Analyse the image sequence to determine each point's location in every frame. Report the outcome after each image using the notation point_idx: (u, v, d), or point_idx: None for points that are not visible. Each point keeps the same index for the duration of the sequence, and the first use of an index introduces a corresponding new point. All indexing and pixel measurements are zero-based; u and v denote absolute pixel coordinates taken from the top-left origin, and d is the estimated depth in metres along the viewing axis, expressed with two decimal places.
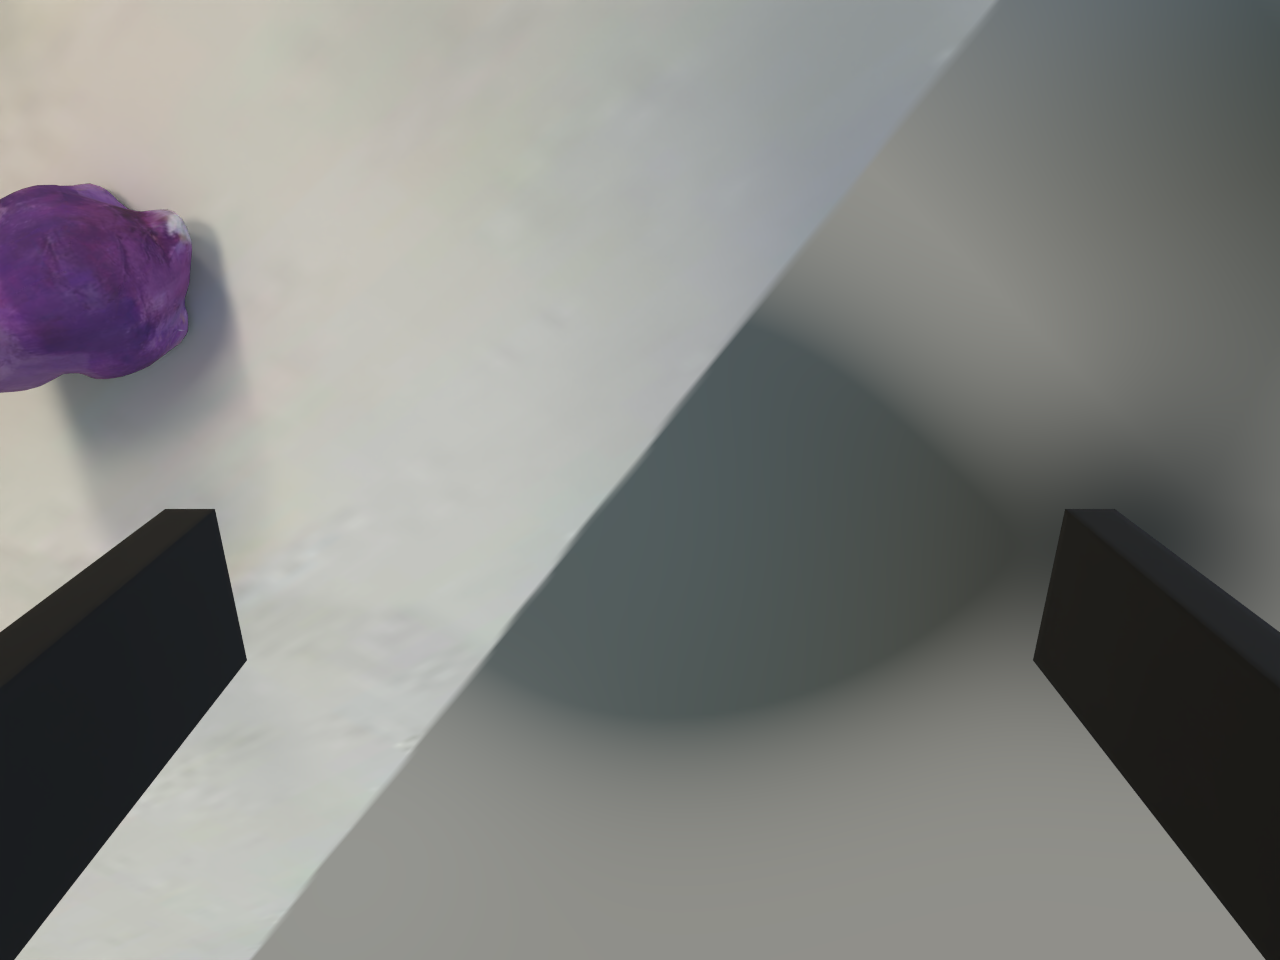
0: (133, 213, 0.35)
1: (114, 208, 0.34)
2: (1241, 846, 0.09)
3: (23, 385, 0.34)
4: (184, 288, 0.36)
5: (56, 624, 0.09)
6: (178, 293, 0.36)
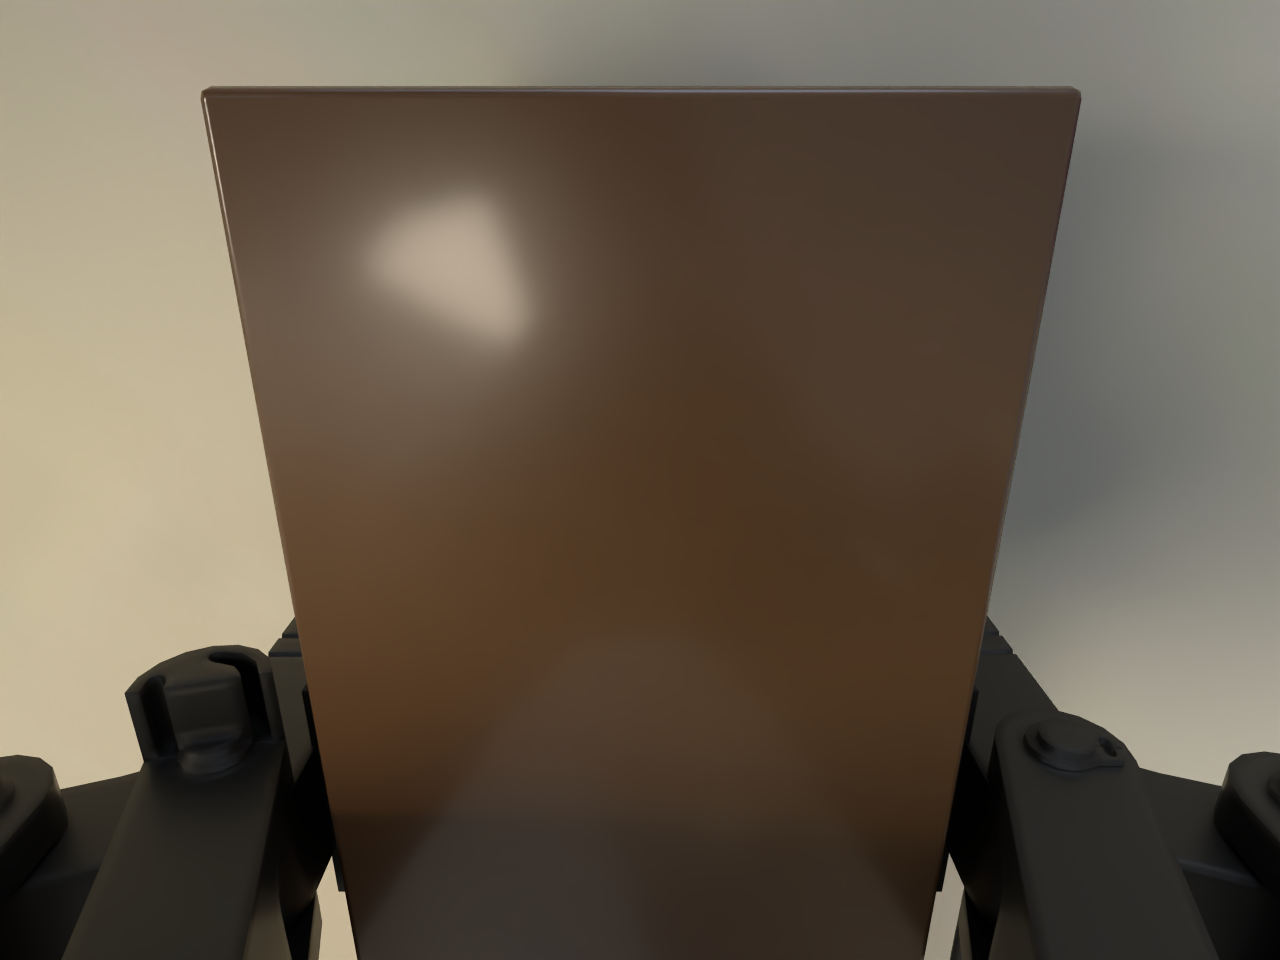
0: None
1: None
2: None
3: None
4: None
5: None
6: None
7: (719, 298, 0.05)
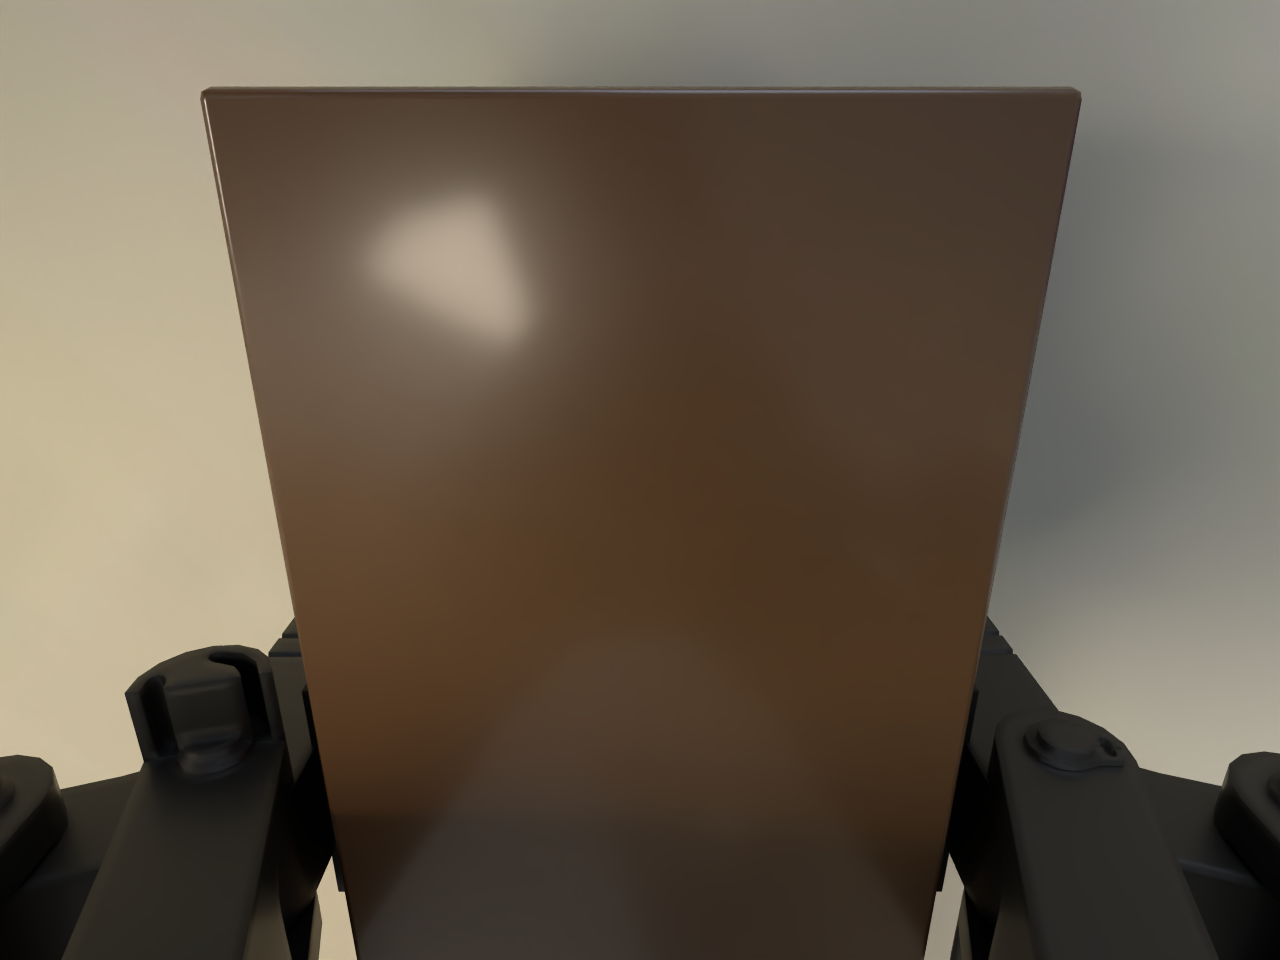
0: None
1: None
2: None
3: None
4: None
5: None
6: None
7: (717, 300, 0.05)
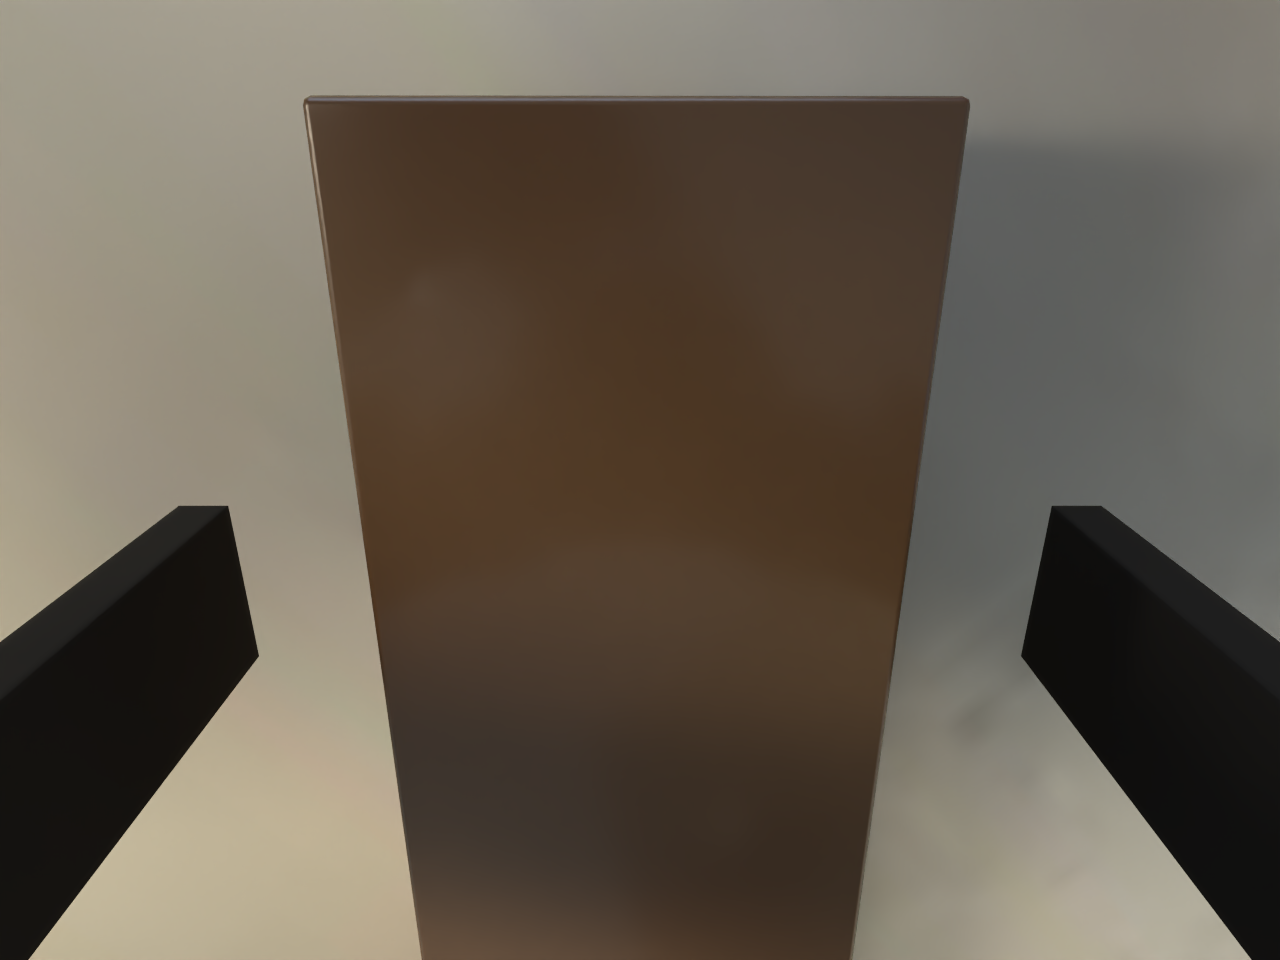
0: None
1: None
2: (1219, 836, 0.09)
3: None
4: None
5: (76, 618, 0.09)
6: None
7: (696, 260, 0.07)
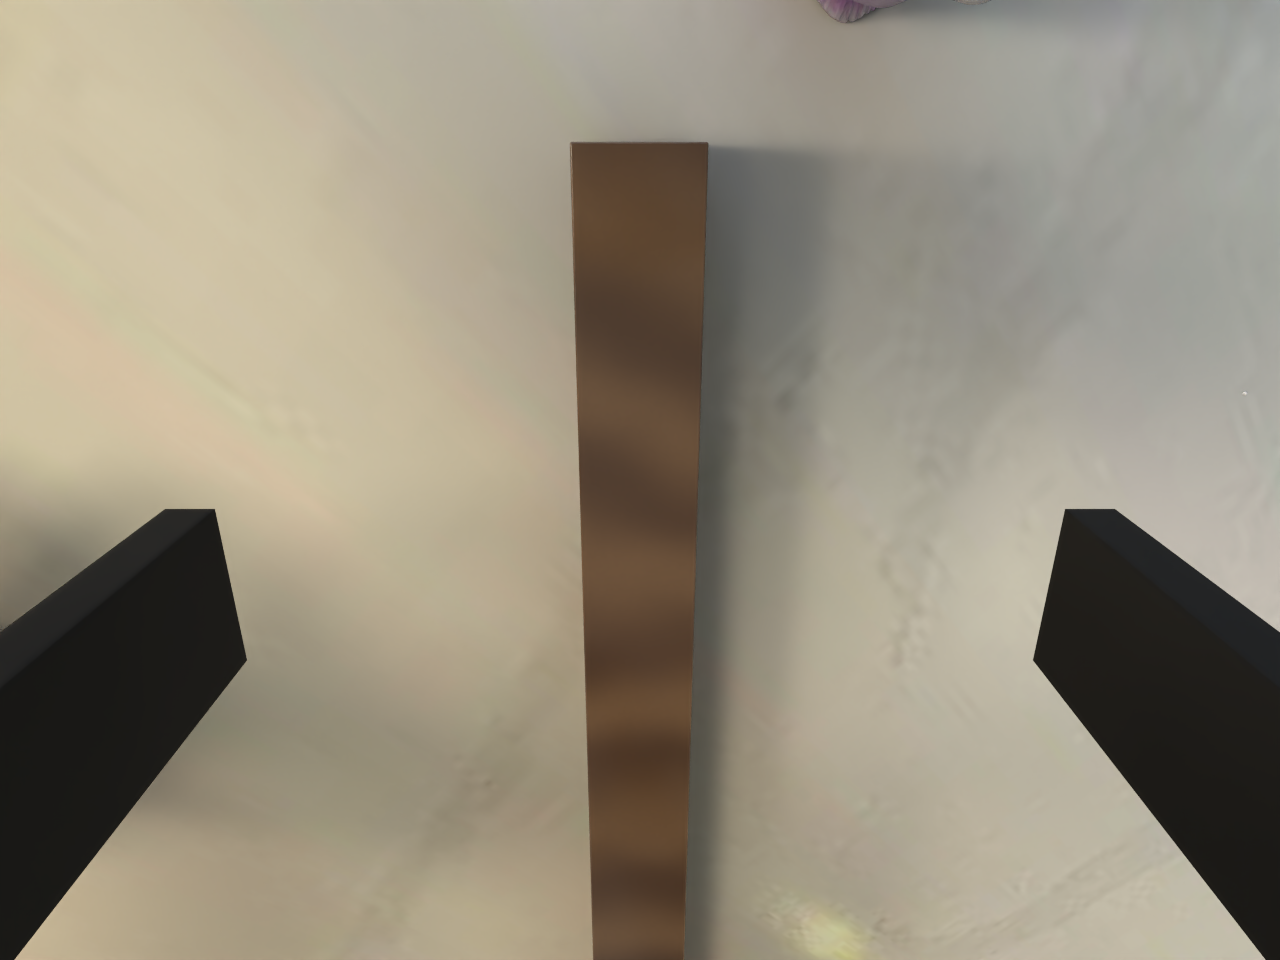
0: None
1: None
2: (1241, 845, 0.09)
3: None
4: None
5: (56, 624, 0.09)
6: None
7: (652, 177, 0.31)
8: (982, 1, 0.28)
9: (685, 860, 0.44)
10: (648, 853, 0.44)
